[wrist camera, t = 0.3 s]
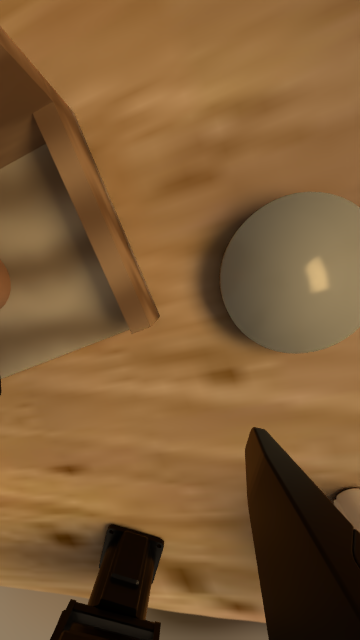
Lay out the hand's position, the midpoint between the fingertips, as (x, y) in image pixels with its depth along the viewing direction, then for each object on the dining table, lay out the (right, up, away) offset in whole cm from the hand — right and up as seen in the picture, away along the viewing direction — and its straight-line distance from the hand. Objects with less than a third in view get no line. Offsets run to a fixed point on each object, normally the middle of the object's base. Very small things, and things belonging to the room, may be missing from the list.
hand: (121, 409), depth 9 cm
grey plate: (+11, +7, +12) cm, 18 cm away
